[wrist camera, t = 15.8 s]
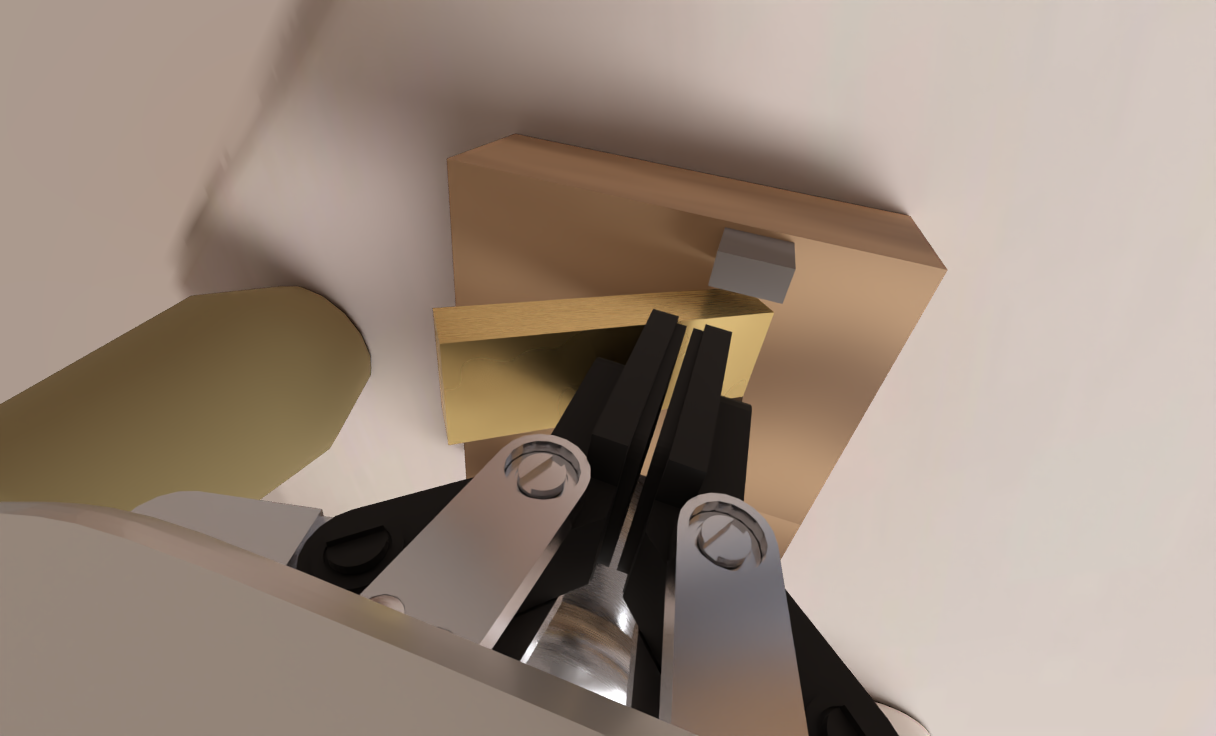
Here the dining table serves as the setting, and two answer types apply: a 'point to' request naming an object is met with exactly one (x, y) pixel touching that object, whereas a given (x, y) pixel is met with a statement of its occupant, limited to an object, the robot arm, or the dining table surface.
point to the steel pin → (593, 629)
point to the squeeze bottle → (189, 403)
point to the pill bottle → (903, 722)
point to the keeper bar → (569, 352)
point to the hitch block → (705, 284)
